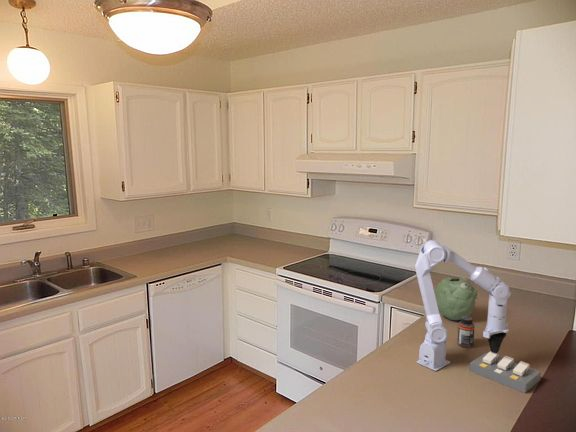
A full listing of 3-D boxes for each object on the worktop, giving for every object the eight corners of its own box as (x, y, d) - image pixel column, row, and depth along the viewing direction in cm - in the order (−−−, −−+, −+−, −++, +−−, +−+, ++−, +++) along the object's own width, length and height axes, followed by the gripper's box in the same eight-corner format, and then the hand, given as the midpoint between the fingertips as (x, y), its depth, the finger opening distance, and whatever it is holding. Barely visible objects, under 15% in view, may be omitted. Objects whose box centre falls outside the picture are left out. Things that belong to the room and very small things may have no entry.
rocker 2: (505, 370, 138) (505, 366, 138) (497, 367, 141) (497, 363, 140) (513, 361, 142) (513, 358, 142) (505, 358, 144) (505, 355, 144)
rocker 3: (521, 376, 135) (521, 372, 134) (513, 372, 137) (513, 369, 136) (529, 367, 138) (529, 364, 138) (520, 364, 140) (520, 360, 140)
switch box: (525, 393, 131) (526, 378, 130) (469, 370, 145) (470, 357, 144) (540, 380, 138) (541, 366, 138) (485, 360, 152) (486, 347, 151)
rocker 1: (490, 364, 142) (490, 361, 142) (482, 361, 144) (482, 358, 144) (498, 356, 146) (498, 353, 146) (490, 353, 148) (490, 350, 148)
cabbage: (438, 309, 203) (440, 269, 200) (479, 318, 191) (482, 276, 188) (426, 319, 190) (428, 277, 187) (470, 329, 179) (473, 284, 176)
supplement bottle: (459, 340, 168) (461, 313, 167) (475, 344, 165) (477, 317, 163) (454, 345, 164) (456, 318, 162) (470, 350, 160) (472, 321, 159)
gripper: (499, 323, 137) (496, 362, 139) (518, 313, 146) (515, 349, 148) (478, 317, 142) (475, 354, 144) (497, 307, 151) (494, 342, 153)
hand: (494, 351), depth 146 cm, fingers closed
